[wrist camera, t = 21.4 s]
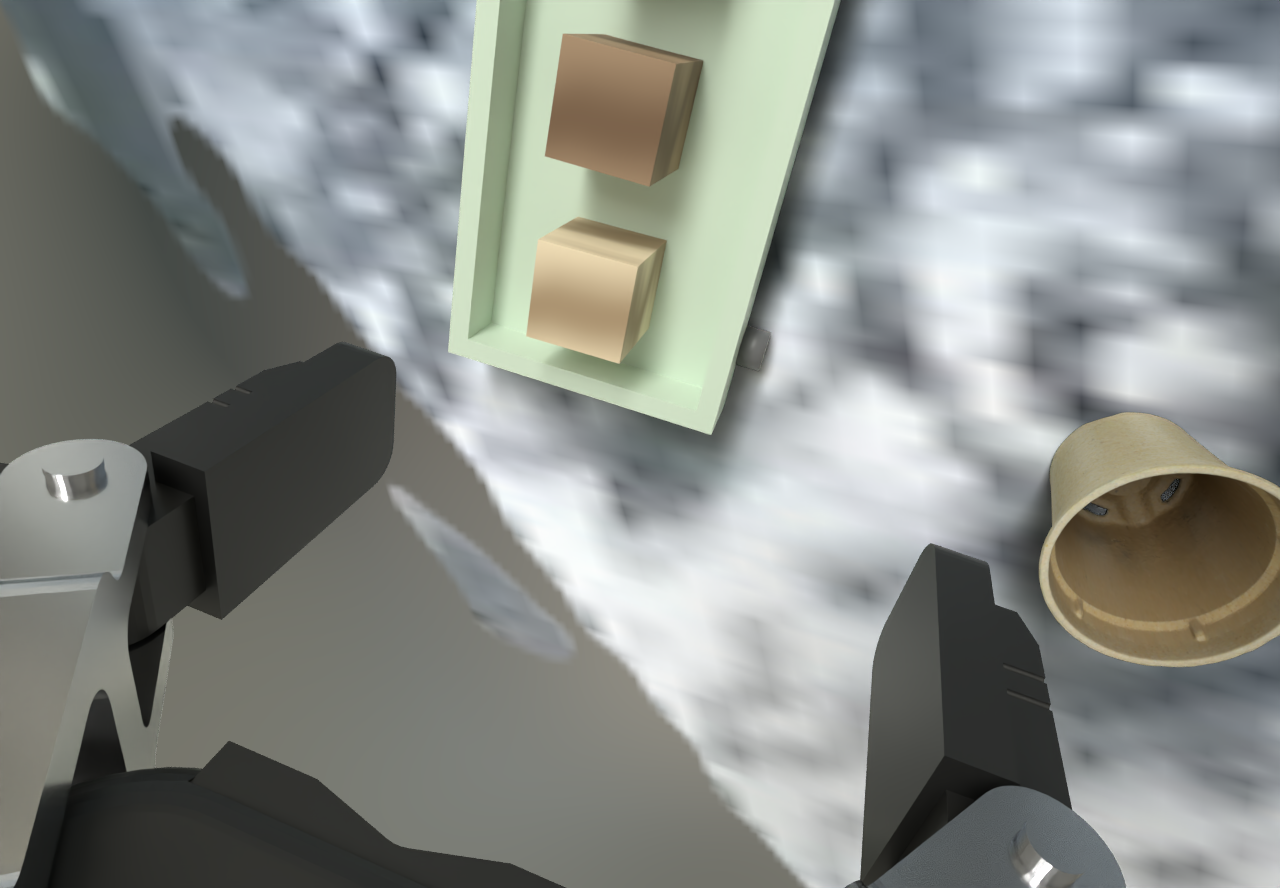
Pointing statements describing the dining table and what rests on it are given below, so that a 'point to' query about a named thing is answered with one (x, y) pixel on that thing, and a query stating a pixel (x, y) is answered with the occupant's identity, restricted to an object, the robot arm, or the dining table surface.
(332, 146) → the dining table surface
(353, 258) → the dining table surface
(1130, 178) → the dining table surface
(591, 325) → the beech part
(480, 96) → the cart
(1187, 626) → the flower pot
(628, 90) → the walnut part
